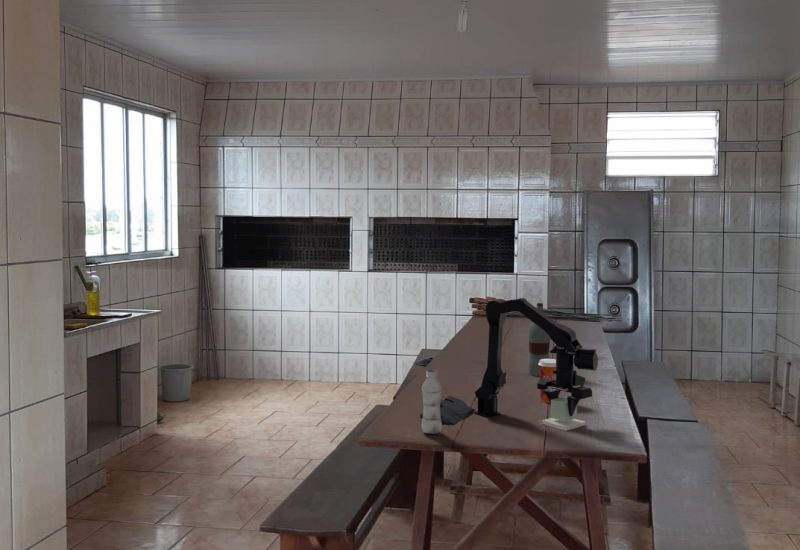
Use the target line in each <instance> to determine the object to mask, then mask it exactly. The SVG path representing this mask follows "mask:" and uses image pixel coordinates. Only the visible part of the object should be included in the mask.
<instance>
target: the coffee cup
mask: <svg viewBox="0 0 800 550" xmlns="http://www.w3.org/2000/svg"><path fill="white" fill-rule="evenodd" d="M538 365H539V373H540V376H539V380H542V379H547V378H549V379H553V380H555V378H556V374H554V373H553V370H556V358H549V359H541V360H540V361H539V363H538ZM543 391H545V390H541V389H539V392H540V394H539V395H540V402H541V401H543V402H542V403H544V402H547V403H546V404H551V403H550V401H549V399H548V397H547V396H546V394H545V393H544V392H543Z"/></svg>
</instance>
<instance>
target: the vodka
mask: <svg viewBox="0 0 800 550" xmlns="http://www.w3.org/2000/svg"><path fill="white" fill-rule="evenodd" d="M536 308H537V309H538V310H540V311H541V312H542V313H544V303H542V302H537V303H536ZM528 327H529V328H528V332H527V333H528V335H527V337H528V339H527V340H528V348H529V349H528V359H527V371H528V374H529V375H530V376H534V377H540V373H539V365H538V363H539V361H540V360H541V359H550V345H551V339H550V337H549V336H548V334H547V333H546V332H545V331H544V330H543V329H541V328H540V327H539V326H537V325H536V324H535V323H533V322H532V321H531V323H530V325H529V326H528Z"/></svg>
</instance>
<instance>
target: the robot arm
mask: <svg viewBox="0 0 800 550" xmlns="http://www.w3.org/2000/svg"><path fill="white" fill-rule="evenodd" d="M484 310H485V315H486V321H487V323H488V324H487V325H488V328H489V329H488V345H487V365H486V366H487V367H486V369H485V372H484V374H483V377H482V381H481V386H480V387H479V388H478V389H477V390H475V391H474V394H475V397H476V399H477V410H475V412H474V414H477V415H478V416H479V415H480V416H483V417H486V418H487V417H488V418H489V417H493V416H497V415H500V414H501V412H500V411H498V407H499V406H498V404H499V403H498V396H497V395H499V394H500V391H501V390H502V389H503V388H504V387H505V385H506V384H507V381H506V377H507V371H503V369H502V352H503V351H502V350H503V349H502V348H503V332H504V331H503V329H504V325H505V322H506V320H507V316H508V313H511V312H518V313H520V314H522V315H523V316H524V317H525V318H527V319H528V320H530V321H531V323H532V322H533V323H535V324H536V325H537V326H539V327H540V328H541V329H543V330H544V331H545V332H546V333H547V334H548V336H549V337H550V341H552V342H553V343H554V346H553V347H552V349H551V350H549V354H555V359H556V370H553V373H554V374H556V378H555V380H553V379H549V378H547V379H542V380H540V379H539V380H538V382H537V383H536V388H537V389H538V390H540V389H541V390H545V391H543V392H544V393H545V394H546V396H547V397H548V399H549V401H550V403H549V404H551V399H555V398H559V396H560V393H561V392H564V393H565V392H566V393H570V396H566V398H567V401H568V410H569V415H570V416H573V414H574V411H575V409H576V406H577V407H578V403H579V402H580V400H584V399H588V398H592V397H593V389H592V388H591V387H588V386H584V385H585V381H586V377H584V376H581V375H578V374H577V372H578V371H577V370H586V371H597V369H598V365H599V357H598V354H597V349H596V348H583V346H582V345H581V343H580V341H579V340H578V338H577V333H576V331H574V329H572V328H570V327H568V326H566V325H565V324H562V323H559V322H556V321H554V320H553V319H551V317H549V316H547V315H546V314H545V313H544V312H543V313H542V312H541V311H540V310H538V309H537V306H535V305H533V304H532V303H531V302H529V301H528V300H527V299H526V298H525V297H520V298H516V299H515V298H514V299H508V300H505V299H503V298H497V299H494V300H491V301H489V302H488V303H486V305H485V309H484ZM574 366H575V367H576V368H577V370H576V369H574Z"/></svg>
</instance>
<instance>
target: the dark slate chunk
mask: <svg viewBox="0 0 800 550" xmlns="http://www.w3.org/2000/svg"><path fill="white" fill-rule="evenodd" d="M474 411H476V410H475V409H474V408H472V406H469V405H467V403H466V402H465V401H464V400H462V399H460V398H457V397H455V396H452V395H448V396H447V397H445V398H444V399H442V400H441V399H440V416H441V422H442V425H446V426H447V425H449V426H451V425H452V426H454V425H456V424H458V423H460V422H461V421H463V420H465V419H467V418H468V417H470V416H471V415H472V413H473V412H474ZM474 413H475V412H474ZM474 413H473V414H474ZM469 415H470V416H469ZM419 418H420V419H421V420H422V419H423V412H422V413H420V414H419Z"/></svg>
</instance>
